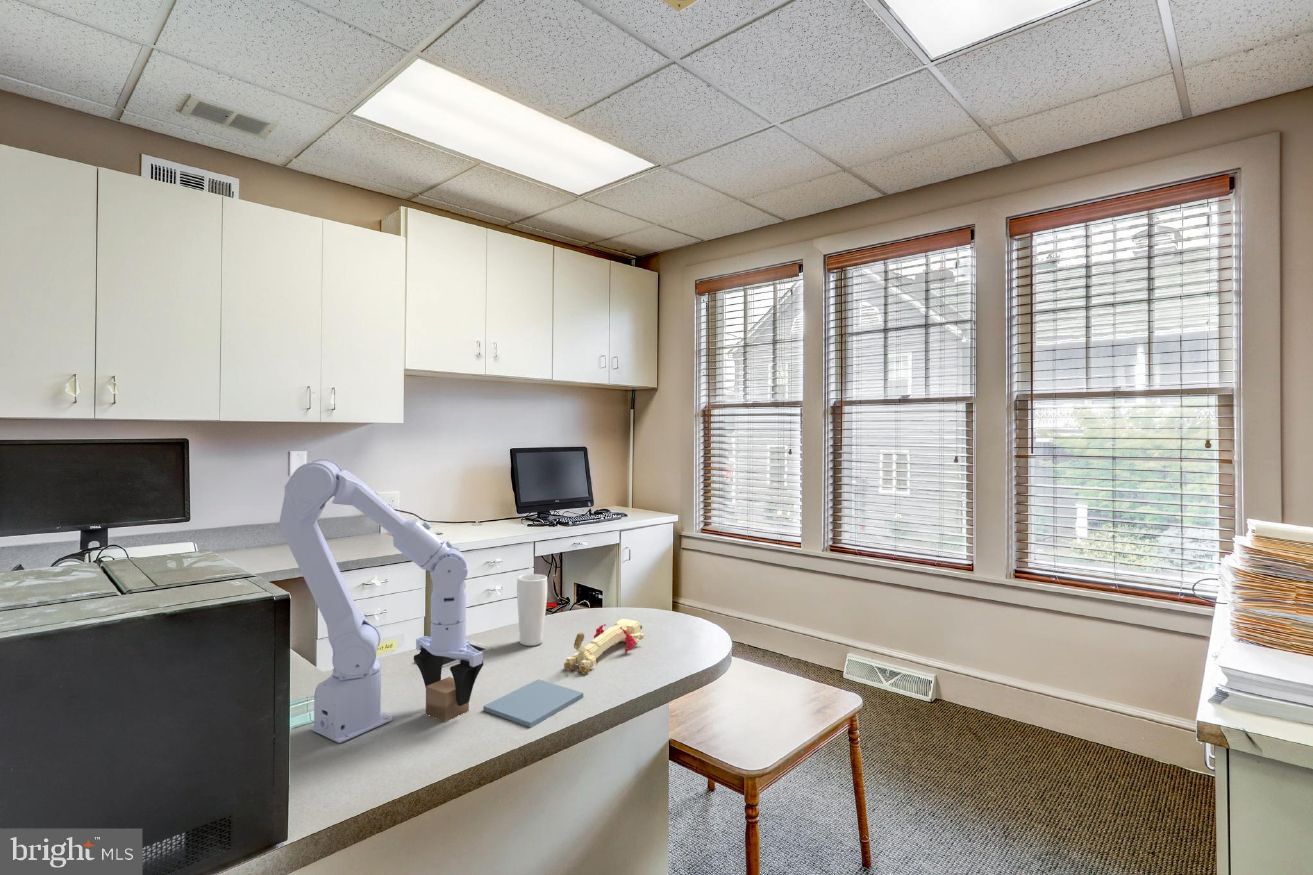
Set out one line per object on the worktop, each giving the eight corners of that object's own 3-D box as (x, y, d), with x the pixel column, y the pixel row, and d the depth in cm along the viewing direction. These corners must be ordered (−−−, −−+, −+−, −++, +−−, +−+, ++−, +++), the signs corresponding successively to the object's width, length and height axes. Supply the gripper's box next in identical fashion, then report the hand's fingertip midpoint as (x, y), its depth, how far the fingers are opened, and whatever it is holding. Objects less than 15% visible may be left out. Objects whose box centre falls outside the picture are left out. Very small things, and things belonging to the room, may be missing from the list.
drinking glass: (513, 639, 147) (514, 575, 146) (542, 636, 150) (543, 572, 149) (520, 649, 141) (521, 582, 140) (550, 645, 143) (551, 579, 143)
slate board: (530, 727, 105) (530, 722, 105) (483, 710, 111) (483, 706, 111) (583, 697, 117) (583, 692, 117) (538, 683, 123) (538, 679, 123)
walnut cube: (445, 722, 106) (445, 693, 106) (425, 715, 109) (425, 686, 109) (468, 711, 111) (469, 683, 111) (449, 704, 113) (449, 676, 113)
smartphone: (494, 650, 141) (494, 646, 141) (435, 672, 128) (435, 668, 128) (472, 643, 145) (472, 639, 145) (413, 664, 132) (413, 660, 132)
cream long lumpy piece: (596, 684, 127) (654, 637, 149) (595, 641, 126) (654, 600, 148) (556, 674, 131) (618, 630, 153) (554, 633, 130) (617, 594, 152)
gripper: (496, 621, 109) (495, 699, 109) (439, 607, 117) (438, 680, 117) (463, 632, 103) (463, 715, 103) (405, 617, 111) (405, 694, 111)
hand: (448, 698), depth 110 cm, fingers open, 7 cm apart
